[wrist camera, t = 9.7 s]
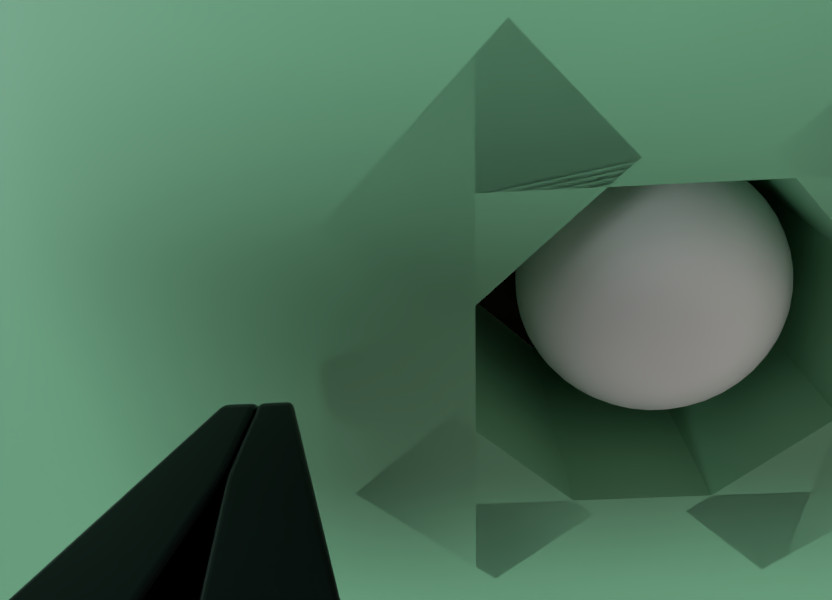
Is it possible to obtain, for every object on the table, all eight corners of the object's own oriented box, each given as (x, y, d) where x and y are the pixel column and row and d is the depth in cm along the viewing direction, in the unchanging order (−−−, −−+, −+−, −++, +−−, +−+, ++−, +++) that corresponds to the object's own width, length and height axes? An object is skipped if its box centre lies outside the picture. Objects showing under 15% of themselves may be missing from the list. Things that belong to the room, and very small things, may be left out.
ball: (577, 292, 14) (783, 365, 11) (464, 393, 11) (703, 513, 9) (599, 100, 11) (861, 143, 9) (466, 171, 9) (783, 255, 7)
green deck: (826, 474, 15) (948, 640, 12) (-261, 515, 16) (-451, 684, 12) (1107, -246, 8) (1588, -353, 5) (-817, -128, 9) (-1580, -150, 6)
